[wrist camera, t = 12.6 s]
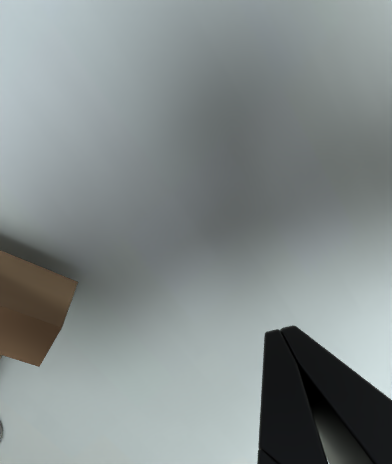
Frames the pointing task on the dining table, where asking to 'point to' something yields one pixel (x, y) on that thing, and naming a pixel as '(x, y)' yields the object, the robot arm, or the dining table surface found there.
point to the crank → (31, 308)
